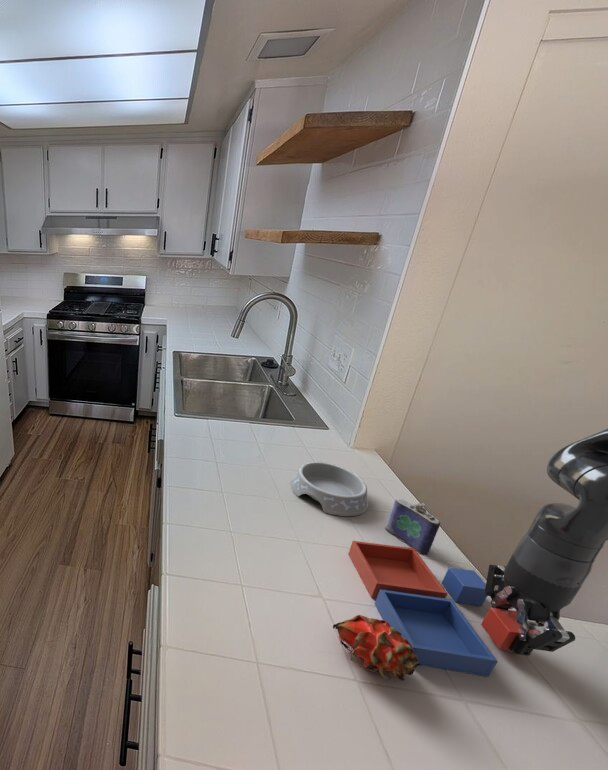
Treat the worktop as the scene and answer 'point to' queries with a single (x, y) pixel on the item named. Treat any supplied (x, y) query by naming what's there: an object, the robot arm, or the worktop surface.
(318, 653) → the worktop surface
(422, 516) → the flask
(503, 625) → the red block
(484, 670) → the blue bin
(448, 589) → the blue block
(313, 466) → the dog bowl
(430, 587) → the red bin
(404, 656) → the dragon fruit
